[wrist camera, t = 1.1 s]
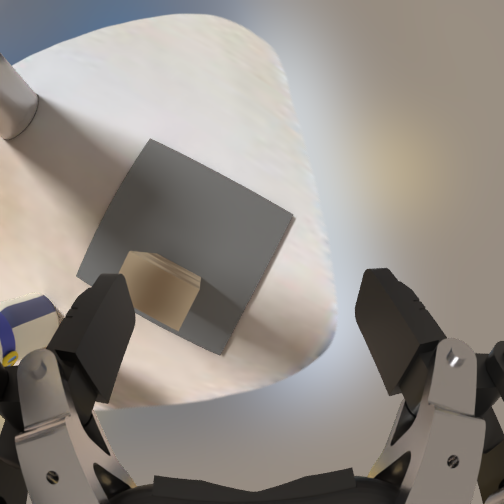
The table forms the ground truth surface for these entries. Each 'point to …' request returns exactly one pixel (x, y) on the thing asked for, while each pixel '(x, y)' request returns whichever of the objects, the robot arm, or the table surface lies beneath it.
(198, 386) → the table surface
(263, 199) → the rubber mat
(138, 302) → the tan two-tone tall block
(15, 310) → the water bottle
